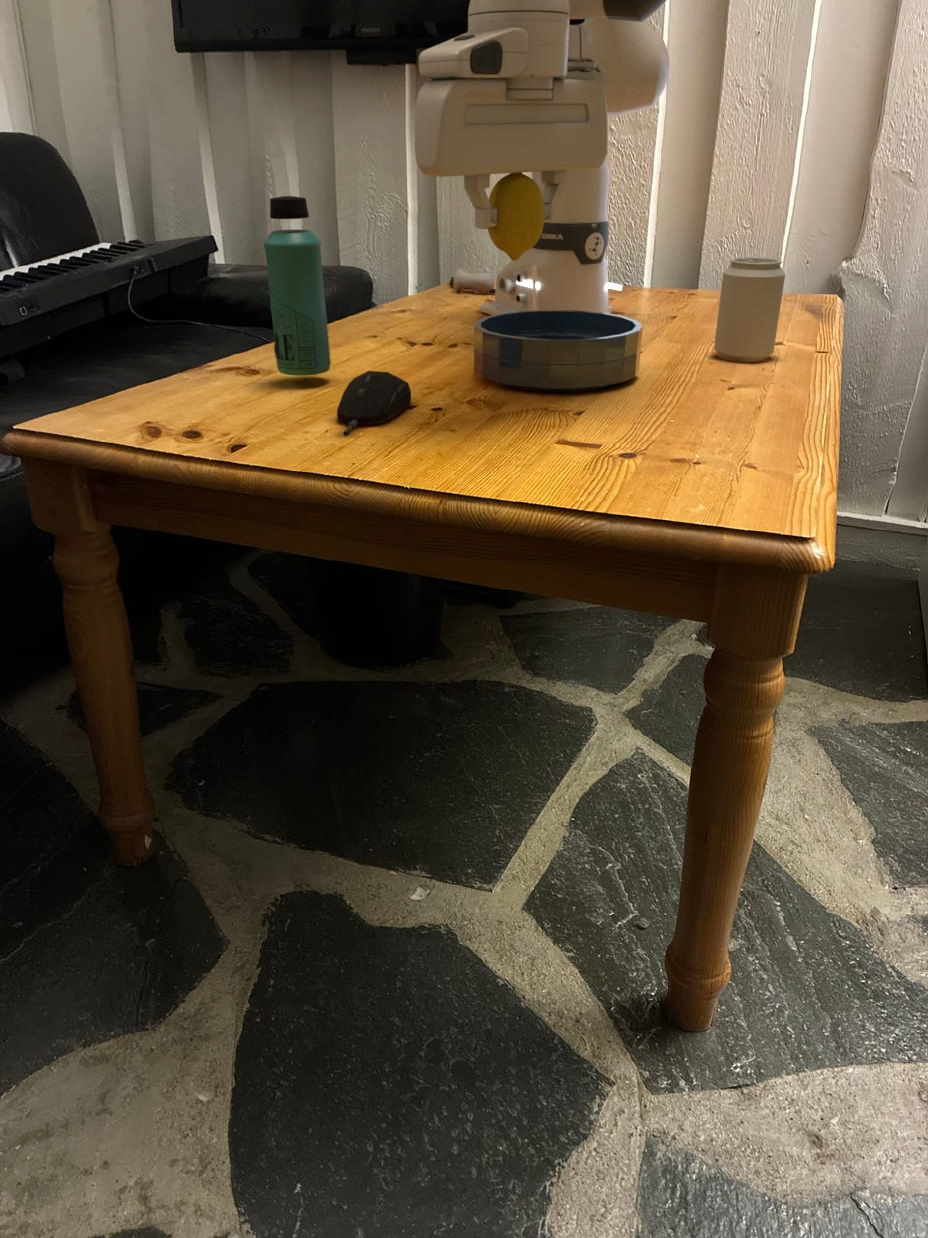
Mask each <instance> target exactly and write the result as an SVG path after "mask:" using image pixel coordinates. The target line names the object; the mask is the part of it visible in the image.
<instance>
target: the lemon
mask: <svg viewBox="0 0 928 1238" xmlns="http://www.w3.org/2000/svg"><path fill="white" fill-rule="evenodd" d="M488 199H489V202H490V204H491V207H495V208H499V216H498V218H497V219H498V227H497V228H492V229H487V231H488V235H489V238H490V240H491V241H492V243H493V245H494V246H495V247H496V248H497V249H498V250H500V251H501V252H503V253H505V254H507V256H508V258H509V259H510V261H512V260H514V261H515V260H518V259H519V258H520V257H521V256H522V254H523V253H525V252H526V251H528V250H530V249H531V248H532V247H534V245H535V244H536V243H537V242H538V240H539V238H540V236H541V233H542V230H543V226H544V218H545V211H544V202H543V197H542V193H541V191H540V189H539V187H538V185H537V184H536V183H535V182H534V181H533V180H532V177H530V176H529V175H526V174H525V173H524V172H521V173H508V174H507V175H505V176H503V177H502V178H500V179H499V180H498V181H497V182H496V183H495V185H494V186H493V187H492V189H491V190H490V193H489V197H488Z"/></svg>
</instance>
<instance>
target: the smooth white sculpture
mask: <svg viewBox="0 0 928 1238" xmlns="http://www.w3.org/2000/svg"><path fill="white" fill-rule="evenodd" d="M453 277H454V282H453V286H452V287H453V290H455V292H457V293H460V292H461V291H462V290H465V289H470V290H469V291H472V292H474V294H477V295H480V294H490V293H489V292H490V291H491V290H492V289H495V287H496V281H495V278H494V277H493V276H492V274H490V273H489V272H488V273H487V272H484V270H477V272H476V273H468V272H466V271H464V269H463V268H462V267H460V268H458V269H456V270H455V273H454V276H453Z"/></svg>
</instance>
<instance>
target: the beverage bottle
mask: <svg viewBox="0 0 928 1238" xmlns="http://www.w3.org/2000/svg"><path fill="white" fill-rule="evenodd" d="M269 210H270V211H269V216H270V217H269V218H270V219H272V220H273V219H274V220H298V219H299V220H300V219H308V218H310V216H309V215H310V214H309V210H308V203H307V198H305V197H301V196H293V195H284V196H277V197H271V198H270V200H269ZM321 246H322V242H321V240H320V238H319V237H318V236H317V235H316V234H314V232H313V231H311V229H279V230H272V231H271V232H270V233H269V234H268V235H267V237H266V238H265V240H264V241H263V248H264V251H265V253H264V254H265V260H266V261H265V262H266V270H267V271H266V272H267V273H266V274H267V287H268V290H267V292H268V293H269V294H268V295H267V296H268V298H269V301H270V302H269V303H270V311H271V318H272V319H271V320H272V321H271V322H272V323H271V325H272V335H273V339H272V341H273V344H274V346H273V349H274V350H273V351H274V352H273V353H274V358H275V366H276V367H277V370H278V372H279V373H280V374H282V375H286V376H287V375H288V376H313V375H320V374H324V373H326V372H327V373H328V371H330V370H331V369H330V368H331V364H332V362H333V361H332V360H331V359H332V355H331V354H332V353H331V352H332V351H331V344H330V341H331V340H330V335H329V333H330V331H329V329H330V328H329V327H330V326H328V319H329V317H328V316H327V315H328V312H327V301H326V299H325V289H324V288H325V286H324V275H323V273H324V272H323V263H322V250H321V249H322V248H321Z"/></svg>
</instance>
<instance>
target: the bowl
mask: <svg viewBox="0 0 928 1238" xmlns="http://www.w3.org/2000/svg"><path fill="white" fill-rule="evenodd" d="M643 328H644V325H642V324H641V323H640V322H639V321H638V320H636V319H633V318H631V317H628V316H624V315H619V314H613V313H611V314H609V313H600V312H591V311H575V310H532V311H517V312H508V313H501V314H495V315H487V316H484V317H481V318H479V319H478V320H476V321H474V322H473V330H474V331H473V345H474V346H473V352H474V353H473V356H474V358H473V360H474V362H473V368H474V369H473V371H474V373H475V374H477V375H478V376H479V377H481V378H483V379H486V380H489V381H493V382H496V383H497V384H500V385H503V386H506V387H511V388H514V389H521V390H528V391H538V392H560V393H561V392H581V391H582V392H583V391H590V390H591V391H593V390H597V389H603V388H606V387H610V386H613V385H615V384H620V383H623V382H625V381H628V380H630V379H633V378H635V377H636V376H637V375H638V373H639V371H640V365H641V364H640V363H641V350H642V339H643Z"/></svg>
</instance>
